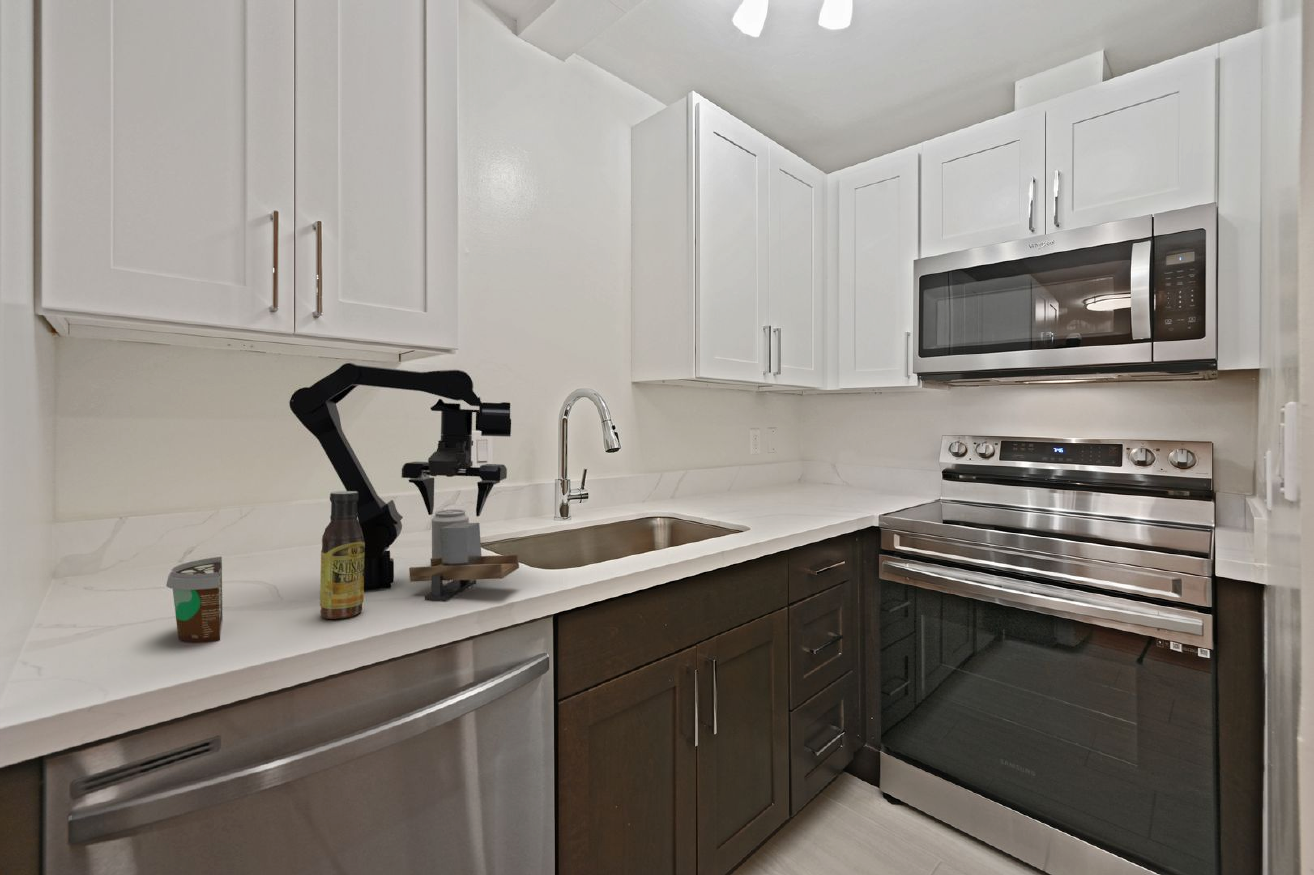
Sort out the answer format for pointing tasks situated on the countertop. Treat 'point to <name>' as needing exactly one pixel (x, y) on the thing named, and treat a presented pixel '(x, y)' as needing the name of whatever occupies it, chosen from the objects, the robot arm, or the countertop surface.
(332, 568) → the sauce bottle
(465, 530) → the steel block
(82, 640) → the countertop surface
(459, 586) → the stand
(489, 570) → the beam
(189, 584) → the food container
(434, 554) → the can
